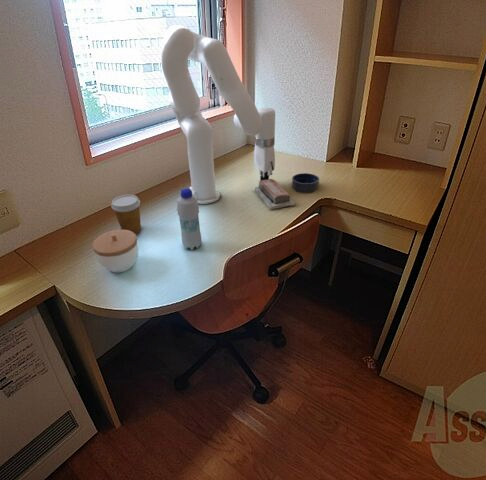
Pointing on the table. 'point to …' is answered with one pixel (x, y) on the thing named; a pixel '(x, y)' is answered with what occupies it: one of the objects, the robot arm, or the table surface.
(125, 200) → the disposable coffee cup
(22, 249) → the table surface
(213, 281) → the table surface
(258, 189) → the butter dish
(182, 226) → the bottle
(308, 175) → the dark blue bowl
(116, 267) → the lidded bowl
